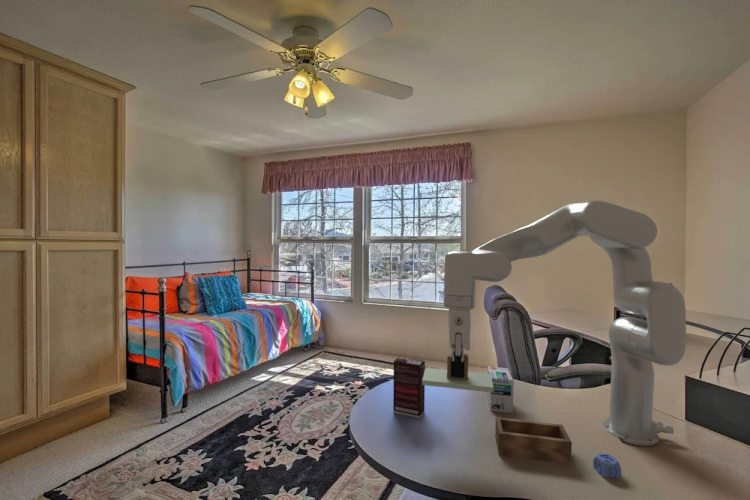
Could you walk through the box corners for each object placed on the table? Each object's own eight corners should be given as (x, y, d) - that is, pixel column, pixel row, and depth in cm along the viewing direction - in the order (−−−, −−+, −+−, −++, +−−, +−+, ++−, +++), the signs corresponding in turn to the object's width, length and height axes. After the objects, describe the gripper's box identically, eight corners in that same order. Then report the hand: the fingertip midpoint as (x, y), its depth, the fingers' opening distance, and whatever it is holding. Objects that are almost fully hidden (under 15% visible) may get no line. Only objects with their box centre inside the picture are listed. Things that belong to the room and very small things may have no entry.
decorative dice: (609, 470, 85) (610, 453, 85) (621, 481, 81) (622, 464, 81) (592, 469, 85) (593, 452, 85) (602, 481, 81) (603, 463, 81)
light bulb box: (513, 415, 110) (514, 380, 110) (489, 413, 111) (490, 378, 111) (507, 400, 121) (508, 367, 120) (486, 398, 122) (487, 365, 121)
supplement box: (424, 412, 112) (425, 360, 111) (419, 419, 107) (420, 365, 107) (398, 406, 115) (398, 355, 115) (392, 413, 111) (393, 360, 110)
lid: (490, 378, 95) (491, 352, 95) (493, 392, 87) (494, 364, 86) (425, 372, 99) (425, 347, 98) (422, 384, 90) (422, 357, 90)
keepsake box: (561, 448, 94) (562, 424, 93) (570, 467, 86) (571, 442, 86) (495, 439, 97) (495, 417, 97) (498, 457, 89) (499, 433, 89)
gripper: (476, 308, 83) (474, 389, 84) (473, 296, 99) (471, 364, 100) (442, 306, 85) (440, 385, 86) (445, 295, 101) (443, 361, 101)
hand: (457, 373), depth 93 cm, fingers closed on lid, 3 cm apart
